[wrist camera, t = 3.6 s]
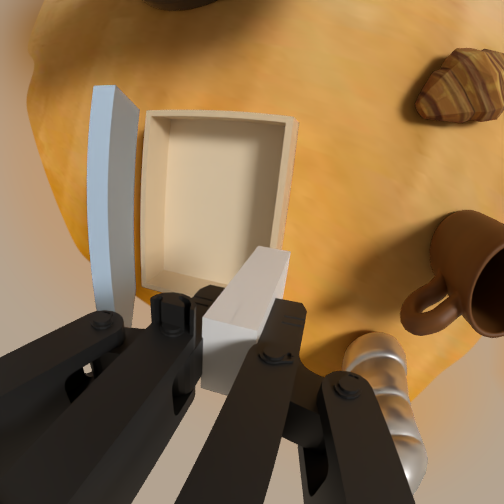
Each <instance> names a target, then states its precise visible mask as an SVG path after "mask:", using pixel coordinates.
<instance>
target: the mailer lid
mask: <svg viewBox="0 0 504 504" xmlns="http://www.w3.org/2000/svg"><path fill="white" fill-rule="evenodd" d="M139 111H140V110H139V109H138V108H137V107H136V106H135V105H134V104H133V103H132V102H131V100H130V99H129V98H128V97H127V96H126V95H125V94H124V93H123V92H122V91H121V90H120V89H119V88H118V87H117V86H116V85H102V86H94V88H93V96H92V104H91V114H90V125H89V138H88V157H87V217H88V236H89V250H90V262H91V271H92V280H93V288H94V295H95V302H96V309H97V311H102V310H107V311H113V312H116V313H118V314H120V315H121V316H122V317H123V321H124V327H129V328H131V325H132V317H133V308H134V301H135V293H136V281H135V260H134V179H135V159H136V144H137V131H138V120H139Z"/></svg>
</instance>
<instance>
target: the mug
mask: <svg viewBox="0 0 504 504" xmlns="http://www.w3.org/2000/svg"><path fill="white" fill-rule="evenodd" d="M430 263H431V267H432V270H433V273H434V275H435V277H434V278H433V279H432V280H431V281H430V282H429V283H428V284H426V285H424V286H422V287H420V288H419V289H417V290H416V291H414V292H413V293H412V294H411V295H410V296H408V298H407V299H406V300H405V302H404V303H403V305H402V308H401V312H400V318H401V323H402V325H403V327H404V328H405V330H407V331H408V332H410V333H412V334H413V335H419V336H423V335H429V334H433V333H436V332H439V331H441V330H443V329H445V328H446V327H447V326H448V325H449V324H451V323H452V322H453V321H454V320H455V319H457V318H458V317H459V316H460V315H462V316H463V317H464V318H465V319H466V321H467V322H468V323H469V324H470V325H471V326H472V328H473V329H474V330H475V331H476V332H477V333H479V334H480V335H482V336H486V337H490V338H496V337H501V336H504V224H503V223H501V222H499V221H497V220H495V219H493V218H490V217H488V216H486V215H484V214H482V213H479V212H476V211H473V210H462V211H458V212H455V213H453V214H451V215H449V216H448V217H447V218H446V219H445V220H443V221H442V223H441V224H440V225H439V226H438V228H437V230H436V231H435V233H434V235H433V238H432V241H431V245H430ZM447 294H448V295H449V297H448V298H447V299H446V300H444V301H443V302H442V303H440V304H439V305H438V306H437V307H435V308H434V309H433V310H431V311H428V312H424V313H422V311H423V310H424V309H426V308H427V307H429V306H431V305H433V304H435V303H437V302H439V301H440V300H442V299H443V298H444V297H445V296H446V295H447Z"/></svg>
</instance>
